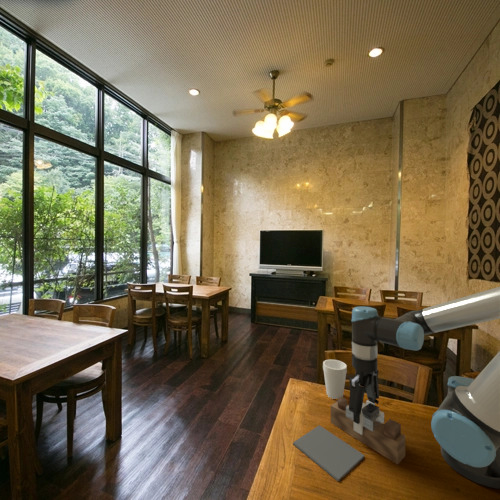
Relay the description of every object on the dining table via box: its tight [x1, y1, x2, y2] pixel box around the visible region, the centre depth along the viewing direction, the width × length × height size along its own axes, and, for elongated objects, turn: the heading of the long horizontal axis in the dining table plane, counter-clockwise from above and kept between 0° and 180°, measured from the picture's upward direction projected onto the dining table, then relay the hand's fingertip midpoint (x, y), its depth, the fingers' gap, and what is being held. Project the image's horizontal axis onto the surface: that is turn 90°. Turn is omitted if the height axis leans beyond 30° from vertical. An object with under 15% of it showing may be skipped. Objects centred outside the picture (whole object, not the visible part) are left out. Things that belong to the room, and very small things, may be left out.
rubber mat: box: [292, 424, 365, 482], centre depth 76 cm, size 16×13×1 cm
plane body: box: [330, 396, 406, 465], centre depth 81 cm, size 22×5×9 cm, turn 37°
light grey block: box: [346, 402, 385, 432], centre depth 81 cm, size 9×7×5 cm
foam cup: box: [322, 359, 348, 400], centre depth 105 cm, size 10×9×13 cm
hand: (364, 426), depth 81 cm, fingers closed on light grey block, 7 cm apart
